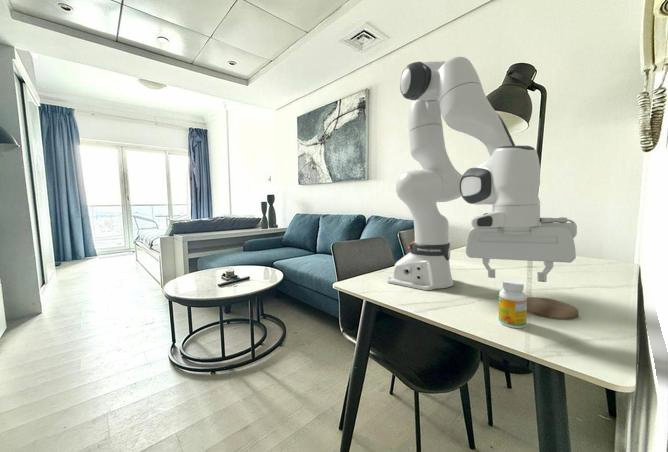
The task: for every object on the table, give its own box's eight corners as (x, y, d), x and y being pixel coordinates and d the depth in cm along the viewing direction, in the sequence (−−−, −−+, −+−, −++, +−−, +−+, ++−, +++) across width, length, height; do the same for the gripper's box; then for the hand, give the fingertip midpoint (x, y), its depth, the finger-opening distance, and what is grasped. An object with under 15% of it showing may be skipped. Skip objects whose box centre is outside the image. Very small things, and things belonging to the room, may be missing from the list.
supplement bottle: (493, 319, 66) (494, 280, 65) (514, 317, 66) (515, 278, 65) (509, 329, 60) (510, 287, 59) (532, 328, 61) (533, 285, 60)
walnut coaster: (520, 313, 68) (520, 309, 68) (517, 298, 78) (518, 294, 78) (584, 323, 62) (584, 319, 62) (572, 305, 72) (572, 301, 72)
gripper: (573, 216, 58) (572, 280, 59) (467, 218, 69) (467, 272, 69) (580, 218, 53) (580, 288, 53) (464, 220, 63) (465, 278, 64)
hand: (515, 279), depth 62 cm, fingers open, 8 cm apart
